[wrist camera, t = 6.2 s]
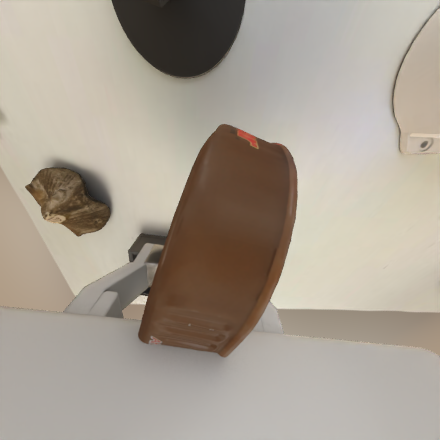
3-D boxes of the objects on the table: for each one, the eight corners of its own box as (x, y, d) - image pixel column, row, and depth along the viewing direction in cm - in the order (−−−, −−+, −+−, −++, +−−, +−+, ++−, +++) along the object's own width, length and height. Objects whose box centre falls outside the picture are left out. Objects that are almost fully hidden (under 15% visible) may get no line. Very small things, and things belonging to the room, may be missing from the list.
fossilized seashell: (16, 173, 22) (69, 228, 28) (-4, 191, 17) (65, 252, 24) (80, 157, 24) (115, 210, 31) (77, 169, 20) (119, 229, 26)
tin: (188, 293, 16) (172, 428, 9) (156, 287, 16) (112, 429, 9) (259, 137, 9) (426, 198, 2) (206, 113, 9) (194, 84, 1)
